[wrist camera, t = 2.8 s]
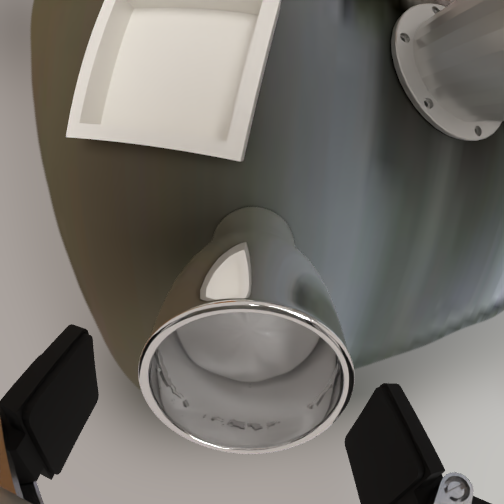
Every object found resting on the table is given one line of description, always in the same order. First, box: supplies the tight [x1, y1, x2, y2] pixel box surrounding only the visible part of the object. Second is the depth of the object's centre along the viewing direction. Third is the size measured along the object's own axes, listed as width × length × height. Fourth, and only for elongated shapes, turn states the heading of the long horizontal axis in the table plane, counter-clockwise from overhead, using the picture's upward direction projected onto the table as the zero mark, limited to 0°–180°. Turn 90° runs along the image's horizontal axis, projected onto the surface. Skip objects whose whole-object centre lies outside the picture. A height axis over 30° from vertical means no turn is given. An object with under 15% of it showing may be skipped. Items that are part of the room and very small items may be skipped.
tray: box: [66, 0, 281, 162], centre depth 16 cm, size 12×12×4 cm
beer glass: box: [138, 207, 355, 454], centre depth 15 cm, size 7×7×15 cm
